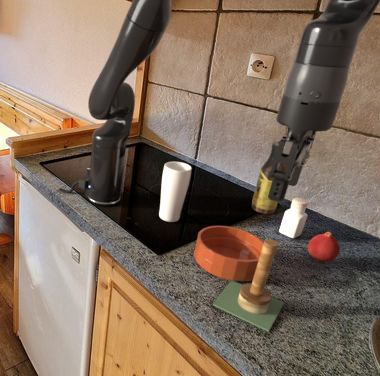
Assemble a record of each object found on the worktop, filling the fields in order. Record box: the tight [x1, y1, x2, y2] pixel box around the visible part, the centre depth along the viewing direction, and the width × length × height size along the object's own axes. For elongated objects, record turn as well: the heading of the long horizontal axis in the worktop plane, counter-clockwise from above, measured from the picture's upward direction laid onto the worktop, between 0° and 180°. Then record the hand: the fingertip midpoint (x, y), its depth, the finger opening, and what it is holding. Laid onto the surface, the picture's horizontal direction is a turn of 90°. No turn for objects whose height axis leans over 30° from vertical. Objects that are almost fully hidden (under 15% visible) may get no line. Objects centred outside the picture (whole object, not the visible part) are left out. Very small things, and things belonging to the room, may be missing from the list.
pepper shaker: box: [278, 197, 309, 239], centre depth 100 cm, size 4×4×10 cm
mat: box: [212, 280, 285, 333], centre depth 78 cm, size 10×10×1 cm
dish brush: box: [238, 238, 279, 314], centre depth 74 cm, size 5×5×14 cm
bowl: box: [193, 225, 265, 282], centre depth 89 cm, size 14×14×6 cm
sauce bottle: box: [251, 140, 286, 215], centre depth 109 cm, size 6×6×20 cm
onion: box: [307, 231, 341, 264], centre depth 90 cm, size 6×6×8 cm
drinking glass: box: [158, 161, 192, 223], centre depth 105 cm, size 7×7×15 cm
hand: (282, 191), depth 68 cm, fingers open, 8 cm apart
